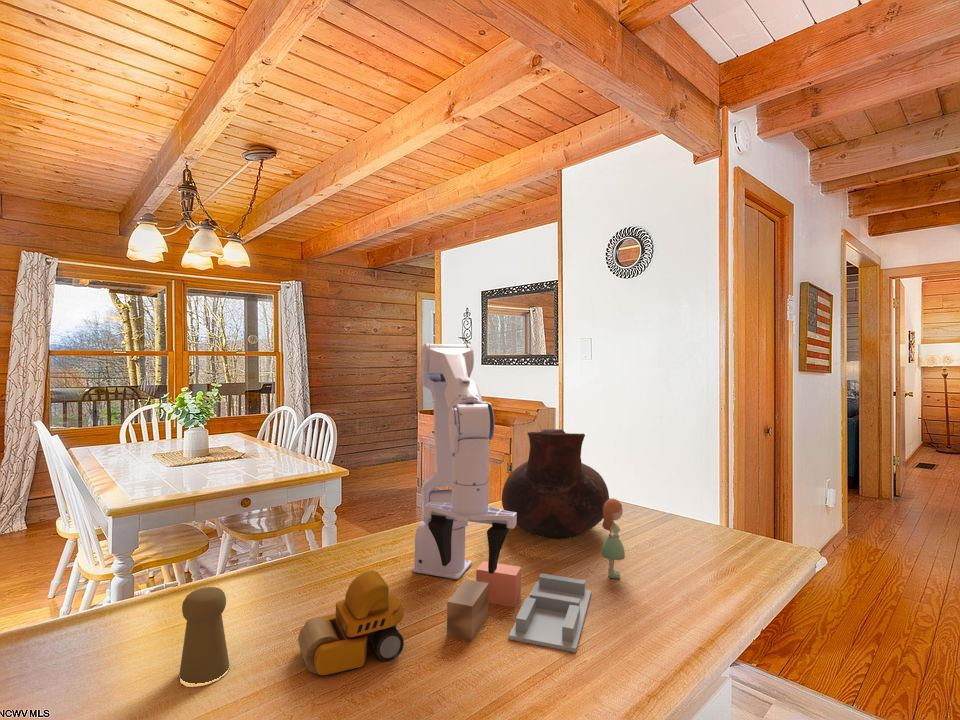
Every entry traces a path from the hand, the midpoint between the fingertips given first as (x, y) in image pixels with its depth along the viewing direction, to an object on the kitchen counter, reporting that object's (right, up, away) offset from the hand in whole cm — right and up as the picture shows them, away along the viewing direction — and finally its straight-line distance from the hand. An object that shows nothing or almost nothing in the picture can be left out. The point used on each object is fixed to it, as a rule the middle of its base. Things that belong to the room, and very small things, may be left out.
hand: (469, 567), depth 83 cm
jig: (+14, -9, +4) cm, 17 cm away
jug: (+19, -8, +42) cm, 47 cm away
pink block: (+5, -9, +9) cm, 14 cm away
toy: (+27, -9, +19) cm, 34 cm away
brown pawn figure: (-35, -10, -12) cm, 38 cm away
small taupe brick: (0, -10, 0) cm, 10 cm away
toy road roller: (-16, -10, -7) cm, 20 cm away
